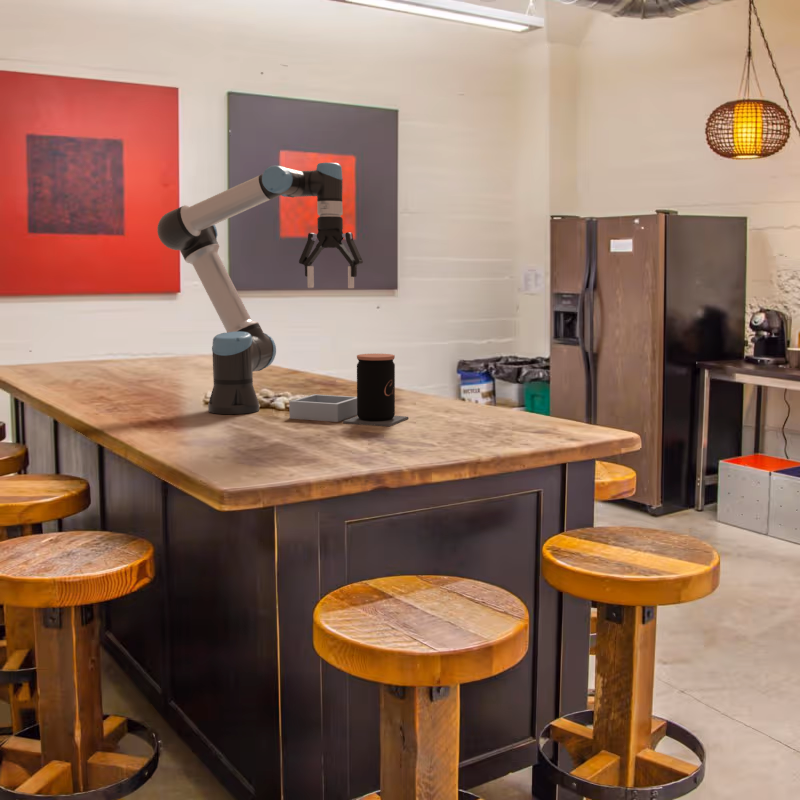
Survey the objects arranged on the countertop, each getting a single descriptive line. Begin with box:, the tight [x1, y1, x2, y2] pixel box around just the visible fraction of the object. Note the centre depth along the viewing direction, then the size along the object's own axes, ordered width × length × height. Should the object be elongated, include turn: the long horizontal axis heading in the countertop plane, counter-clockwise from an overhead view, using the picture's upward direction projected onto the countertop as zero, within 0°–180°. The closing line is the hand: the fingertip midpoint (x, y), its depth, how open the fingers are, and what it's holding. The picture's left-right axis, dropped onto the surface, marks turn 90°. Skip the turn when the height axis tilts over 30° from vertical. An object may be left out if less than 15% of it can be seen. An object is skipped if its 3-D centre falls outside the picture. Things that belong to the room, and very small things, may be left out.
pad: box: [342, 415, 409, 427], centre depth 259 cm, size 14×14×1 cm
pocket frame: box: [288, 393, 357, 423], centre depth 267 cm, size 15×15×5 cm
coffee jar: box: [356, 353, 396, 421], centre depth 258 cm, size 11×11×18 cm
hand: (330, 288), depth 277 cm, fingers open, 13 cm apart
